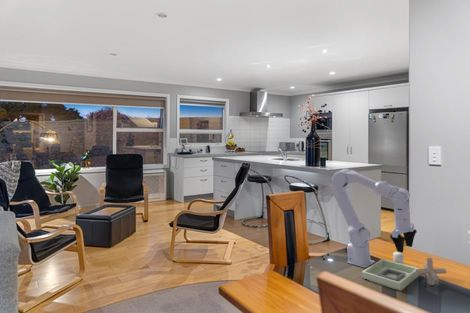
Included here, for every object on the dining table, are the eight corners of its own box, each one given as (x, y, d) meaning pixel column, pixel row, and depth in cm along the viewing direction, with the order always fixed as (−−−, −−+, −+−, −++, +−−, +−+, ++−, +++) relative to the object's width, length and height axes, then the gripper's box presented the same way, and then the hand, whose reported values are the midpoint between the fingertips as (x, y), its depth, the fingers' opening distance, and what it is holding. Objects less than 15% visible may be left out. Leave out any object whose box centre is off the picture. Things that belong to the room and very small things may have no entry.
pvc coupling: (392, 267, 142) (391, 253, 141) (397, 263, 144) (395, 250, 144) (401, 269, 139) (400, 256, 138) (406, 266, 141) (405, 252, 141)
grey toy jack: (452, 290, 119) (450, 263, 118) (422, 290, 121) (420, 264, 120) (440, 277, 128) (438, 253, 127) (413, 278, 130) (411, 254, 130)
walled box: (362, 278, 135) (361, 271, 135) (382, 265, 145) (381, 258, 144) (400, 291, 122) (399, 283, 122) (420, 275, 132) (419, 268, 131)
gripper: (403, 224, 128) (405, 257, 129) (420, 214, 136) (422, 245, 137) (385, 221, 133) (388, 252, 135) (403, 212, 142) (406, 242, 143)
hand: (404, 249), depth 136 cm, fingers open, 7 cm apart
